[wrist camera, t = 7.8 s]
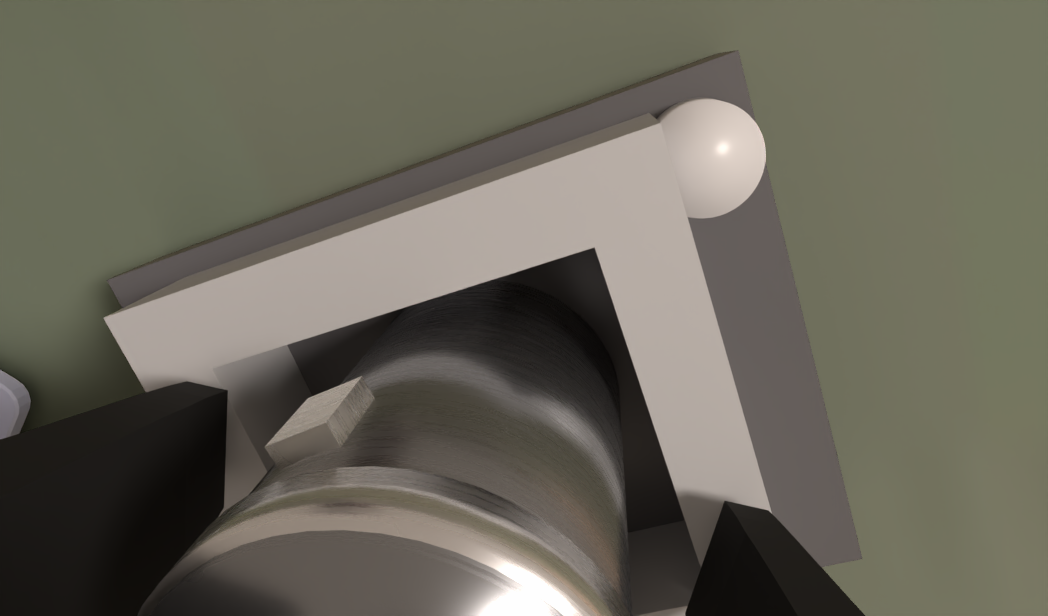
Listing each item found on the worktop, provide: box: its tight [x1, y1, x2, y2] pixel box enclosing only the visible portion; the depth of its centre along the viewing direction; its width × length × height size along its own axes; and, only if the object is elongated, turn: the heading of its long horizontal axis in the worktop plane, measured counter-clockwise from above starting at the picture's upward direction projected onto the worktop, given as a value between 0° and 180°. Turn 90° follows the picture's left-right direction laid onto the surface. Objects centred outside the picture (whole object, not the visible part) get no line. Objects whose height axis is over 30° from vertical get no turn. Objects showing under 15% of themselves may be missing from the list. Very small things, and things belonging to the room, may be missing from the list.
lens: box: [137, 280, 632, 616], centre depth 9 cm, size 5×5×6 cm
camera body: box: [104, 50, 862, 616], centre depth 12 cm, size 11×9×4 cm
